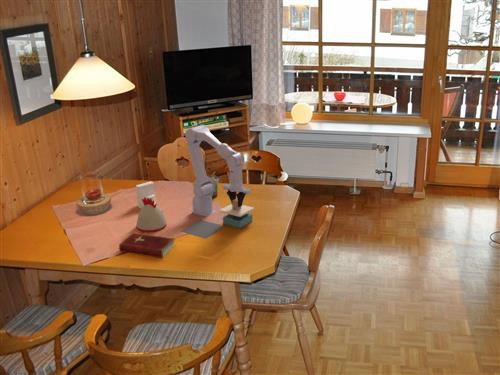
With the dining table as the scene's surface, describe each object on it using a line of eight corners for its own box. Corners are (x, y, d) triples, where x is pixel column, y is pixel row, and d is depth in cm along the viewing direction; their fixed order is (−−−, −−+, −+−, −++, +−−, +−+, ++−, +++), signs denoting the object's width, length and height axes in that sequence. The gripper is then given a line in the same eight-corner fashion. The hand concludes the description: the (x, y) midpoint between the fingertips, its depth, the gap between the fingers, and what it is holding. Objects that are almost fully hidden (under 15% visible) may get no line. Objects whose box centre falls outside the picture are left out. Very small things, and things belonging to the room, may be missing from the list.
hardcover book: (162, 259, 240) (162, 250, 238) (119, 252, 247) (118, 243, 245) (175, 246, 250) (175, 238, 249) (134, 240, 257) (133, 232, 256)
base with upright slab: (143, 210, 288) (141, 188, 283) (135, 205, 294) (132, 183, 290) (159, 205, 293) (157, 184, 288) (150, 201, 299) (148, 179, 295)
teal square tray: (223, 225, 269) (222, 217, 268) (235, 217, 277) (234, 210, 275) (240, 229, 264) (240, 221, 262) (252, 221, 272) (252, 214, 270)
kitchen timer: (150, 218, 278) (147, 190, 273) (172, 224, 271) (170, 195, 266) (131, 229, 267) (127, 200, 261) (153, 235, 260) (151, 205, 255)
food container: (216, 200, 297) (215, 183, 294) (205, 200, 299) (204, 182, 295) (222, 192, 309) (221, 175, 305) (211, 191, 310) (210, 174, 306)
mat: (180, 232, 263) (180, 231, 263) (200, 220, 275) (200, 219, 274) (206, 239, 255) (205, 238, 255) (225, 227, 267) (225, 226, 267)
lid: (219, 211, 266) (218, 201, 264) (233, 204, 276) (233, 194, 274) (240, 216, 260) (240, 206, 258) (254, 209, 269) (254, 199, 268)
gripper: (218, 178, 263) (219, 205, 268) (244, 184, 255) (245, 211, 260) (227, 174, 268) (228, 200, 273) (252, 179, 261) (253, 206, 266)
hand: (237, 205), depth 267 cm, fingers closed on lid, 3 cm apart
